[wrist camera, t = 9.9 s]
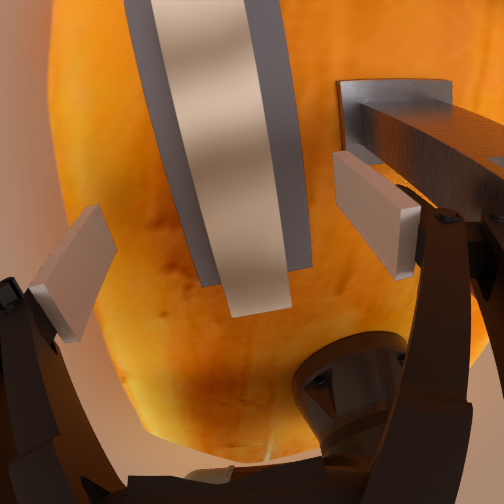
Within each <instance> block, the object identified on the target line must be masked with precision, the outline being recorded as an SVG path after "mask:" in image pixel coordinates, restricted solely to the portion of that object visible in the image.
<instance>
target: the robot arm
mask: <svg viewBox="0 0 504 504" xmlns="http://www.w3.org/2000/svg"><path fill="white" fill-rule="evenodd" d="M332 156H333V167H334V179H335V193H336V204H337V206H338V207H339V208H340V209H341V210H342V212H343V213H344V214H345V215H346V217H347V218H348V219H349V220H350V222H351V223H352V224H353V226H354V227H355V228H356V229H357V231H358V232H359V233H360V234H361V236H362V237H363V238H364V240H365V241H366V242H367V244H368V245H369V246H370V248H371V249H372V250H373V252H374V253H375V254H376V256H377V257H378V258H379V260H380V261H381V262H382V264H383V265H384V266H385V268H386V269H387V270H388V272H389V273H390V275H391V276H392V277H393V279H394V280H395V281H397V280H401V279H404V278H408V277H412V276H413V275H414V268H415V262H416V263H417V264H418V265H419V267H420V268H421V273H420V280H419V285H418V291H417V299H416V305H415V311H414V316H413V322H412V327H411V332H410V336H409V341H408V344H407V342H406V341H405V340H404V339H403V338H402V337H400V336H399V335H396V334H393V333H387V332H372V333H365V334H360V335H356V336H352V337H349V338H346V339H343V340H340V341H338V342H336V343H333V344H331V345H329V346H327V347H325V348H324V349H322V350H320V351H319V352H317V353H316V354H314V355H313V356H311V357H310V358H309V359H308V360H307V361H305V362H304V363H303V364H302V365H301V367H300V368H299V369H298V370H297V372H296V373H295V375H294V378H293V381H292V389H293V394H294V400H295V403H296V406H297V408H298V409H299V411H300V412H301V414H302V416H303V417H304V419H305V420H306V422H307V423H308V425H309V427H310V428H311V430H312V431H313V433H314V434H315V436H316V437H317V439H318V441H319V444H320V448H321V452H322V456H318V457H314V458H310V459H305V460H301V461H296V462H289V463H282V464H273V465H262V466H251V467H236V468H235V466H233V465H231V466H229V467H228V468H215V469H200V470H195V471H192V472H190V473H189V474H188V475H187V476H185V478H184V479H183V478H178V477H174V476H128V484H127V487H126V486H125V485H124V484H123V483H122V481H121V480H120V479H119V477H118V476H117V474H116V472H115V471H114V469H113V467H112V465H111V463H110V462H109V460H108V458H107V456H106V455H105V453H104V450H103V449H102V447H101V445H100V443H99V441H98V439H97V437H96V435H95V433H94V431H93V429H92V427H91V425H90V423H89V420H88V418H87V416H86V414H85V412H84V409H83V408H82V405H81V403H80V400H79V398H78V396H77V393H76V391H75V388H74V386H73V384H72V381H71V379H70V376H69V373H68V371H67V368H66V365H65V363H64V360H63V357H62V354H61V351H60V349H59V347H58V345H57V344H56V342H55V341H54V338H55V336H56V333H58V335H59V336H60V337H61V339H62V340H63V342H64V343H72V342H80V340H81V337H82V334H83V332H84V329H85V326H86V324H87V321H88V318H89V316H90V313H91V310H92V308H93V305H94V303H95V300H96V298H97V296H98V293H99V291H100V288H101V286H102V283H103V281H104V279H105V276H106V274H107V272H108V269H109V267H110V265H111V263H112V260H113V258H114V256H115V254H116V251H117V248H116V246H115V243H114V241H113V239H112V236H111V234H110V231H109V229H108V226H107V224H106V221H105V219H104V216H103V214H102V211H101V208H100V206H99V204H95V205H92V206H89V207H86V208H85V209H84V210H83V212H82V213H81V214H80V216H79V217H78V218H77V219H76V221H75V222H74V223H73V225H72V226H71V227H70V228H69V230H68V231H67V233H66V234H65V235H64V236H63V238H62V239H61V241H60V242H59V243H58V245H57V246H56V247H55V249H54V250H53V252H52V253H51V254H50V256H49V257H48V259H47V260H46V262H45V263H44V265H43V266H42V267H41V269H40V270H39V272H38V273H37V275H36V277H35V278H34V279H33V281H32V282H31V284H30V286H29V287H28V289H27V290H26V292H25V293H24V294H23V292H22V290H21V289H20V287H19V285H18V284H17V282H16V280H15V278H14V277H8V278H6V279H4V280H2V281H1V282H0V504H455V500H456V497H457V493H458V489H459V485H460V481H461V477H462V473H463V468H464V464H465V459H466V454H467V449H468V443H469V438H470V431H471V425H472V416H473V407H472V403H469V402H467V399H466V398H467V386H468V376H469V362H470V343H471V291H470V282H471V285H472V288H473V290H474V293H475V296H476V299H477V302H478V304H479V307H480V310H481V313H482V317H483V320H484V323H485V326H486V329H487V333H488V336H489V340H490V343H491V347H492V350H493V354H494V358H495V362H496V366H497V370H498V375H499V379H500V383H501V388H502V393H503V398H504V211H503V210H501V209H497V208H495V209H493V208H489V209H485V210H483V211H482V213H481V218H480V222H466V221H464V218H463V216H462V215H461V214H460V213H458V212H456V211H454V210H451V209H447V208H436V209H435V208H434V207H433V206H432V205H430V204H429V203H428V202H427V201H425V200H424V199H422V197H420V196H419V195H418V194H417V195H416V193H415V192H414V191H412V190H411V189H410V188H408V187H405V186H402V185H400V184H397V185H394V184H393V183H391V182H390V181H389V180H388V179H386V178H385V177H384V176H382V175H381V174H379V173H378V172H377V171H375V170H374V169H373V168H371V167H370V166H369V165H367V164H366V163H364V162H363V161H362V160H360V159H359V158H357V157H356V156H354V155H353V154H352V153H350V152H349V151H347V150H345V151H338V152H332Z"/></svg>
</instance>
